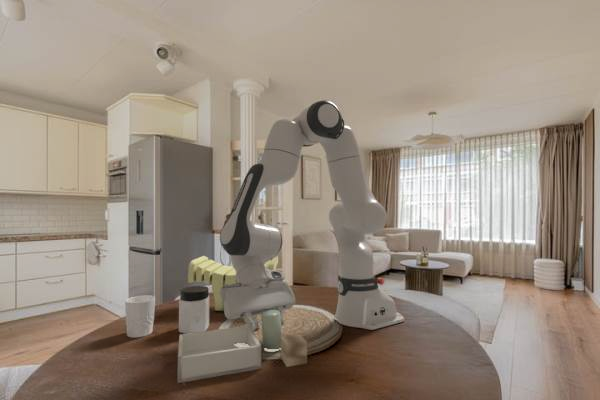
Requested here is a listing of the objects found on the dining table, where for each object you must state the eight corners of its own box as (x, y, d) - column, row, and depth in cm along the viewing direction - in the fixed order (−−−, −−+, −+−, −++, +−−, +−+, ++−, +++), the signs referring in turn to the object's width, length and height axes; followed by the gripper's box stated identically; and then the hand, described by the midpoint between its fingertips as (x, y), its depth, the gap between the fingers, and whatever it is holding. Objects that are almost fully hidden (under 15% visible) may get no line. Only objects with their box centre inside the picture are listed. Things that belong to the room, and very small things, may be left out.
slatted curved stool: (187, 313, 109) (188, 262, 110) (203, 300, 125) (203, 255, 126) (273, 314, 108) (273, 262, 109) (278, 300, 124) (278, 255, 124)
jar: (182, 336, 89) (182, 294, 89) (175, 328, 95) (176, 288, 96) (213, 330, 94) (213, 289, 94) (205, 322, 100) (205, 284, 101)
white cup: (159, 333, 92) (159, 298, 92) (130, 341, 86) (130, 304, 86) (148, 326, 97) (149, 293, 97) (120, 333, 91) (121, 299, 91)
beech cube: (300, 354, 78) (299, 334, 78) (307, 363, 73) (307, 342, 73) (280, 357, 76) (280, 336, 76) (286, 367, 71) (286, 345, 72)
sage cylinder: (278, 341, 84) (277, 308, 84) (284, 349, 80) (282, 314, 79) (260, 345, 83) (258, 311, 82) (265, 354, 78) (263, 318, 78)
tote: (249, 344, 83) (249, 325, 84) (261, 368, 71) (261, 346, 71) (179, 354, 77) (179, 334, 78) (177, 383, 65) (177, 358, 65)
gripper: (221, 279, 82) (234, 329, 73) (288, 272, 93) (306, 315, 85) (215, 292, 85) (227, 341, 77) (280, 284, 97) (296, 326, 88)
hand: (269, 327), depth 81 cm, fingers open, 6 cm apart
